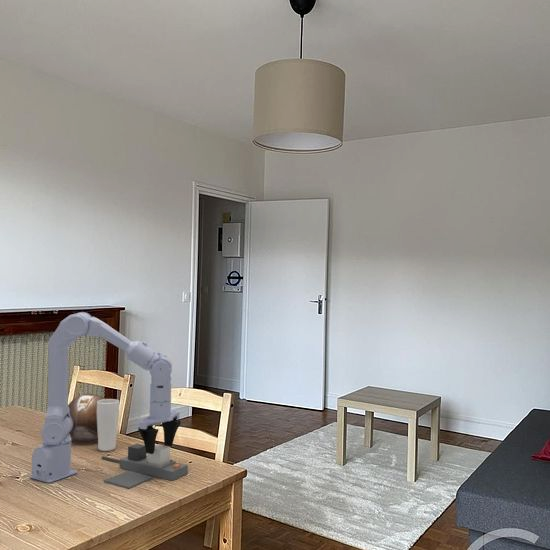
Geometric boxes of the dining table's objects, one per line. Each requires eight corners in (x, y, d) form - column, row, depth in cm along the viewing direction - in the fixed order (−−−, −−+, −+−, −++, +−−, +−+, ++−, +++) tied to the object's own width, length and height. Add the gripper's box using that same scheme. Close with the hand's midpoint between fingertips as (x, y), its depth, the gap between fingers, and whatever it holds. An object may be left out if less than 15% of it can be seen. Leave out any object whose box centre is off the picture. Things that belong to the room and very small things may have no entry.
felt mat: (129, 488, 141) (129, 487, 141) (103, 481, 145) (103, 480, 145) (153, 478, 149) (153, 476, 149) (128, 472, 153) (128, 470, 153)
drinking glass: (104, 453, 169) (105, 404, 169) (90, 449, 173) (92, 401, 173) (122, 448, 174) (123, 400, 174) (109, 444, 178) (110, 397, 179)
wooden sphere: (60, 447, 174) (62, 399, 174) (65, 434, 189) (66, 390, 189) (110, 444, 178) (111, 398, 178) (111, 432, 193) (112, 389, 193)
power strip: (172, 480, 147) (172, 458, 147) (94, 461, 161) (94, 441, 161) (187, 473, 153) (188, 452, 153) (110, 455, 167) (111, 436, 167)
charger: (160, 466, 151) (160, 450, 151) (147, 463, 153) (148, 447, 153) (170, 462, 154) (170, 446, 154) (157, 460, 157) (158, 444, 157)
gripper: (153, 407, 146) (152, 459, 145) (188, 397, 158) (187, 445, 158) (133, 403, 149) (132, 454, 149) (168, 394, 162) (167, 441, 162)
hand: (159, 449), depth 154 cm, fingers open, 7 cm apart
